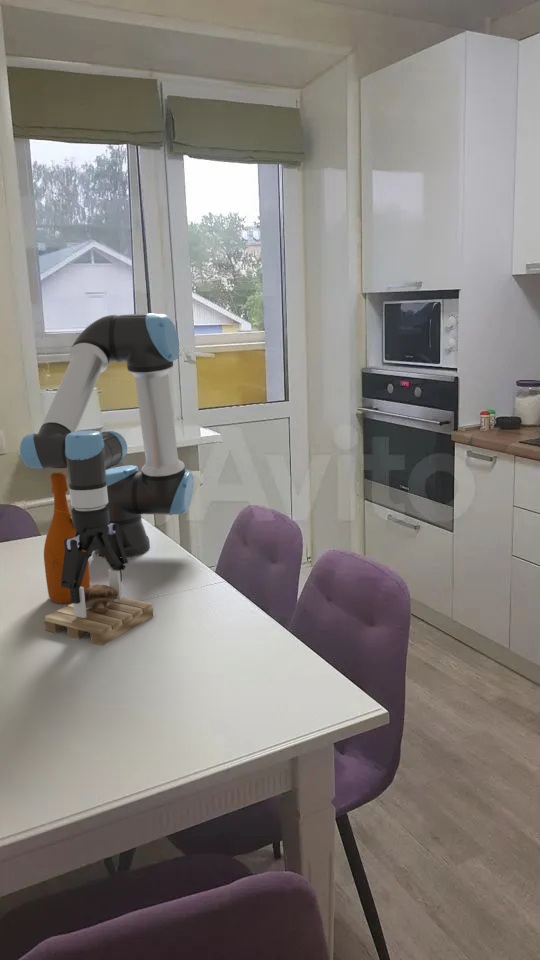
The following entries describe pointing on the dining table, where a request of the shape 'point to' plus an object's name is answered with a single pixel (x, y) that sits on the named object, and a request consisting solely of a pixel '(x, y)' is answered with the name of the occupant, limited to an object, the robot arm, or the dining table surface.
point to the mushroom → (99, 597)
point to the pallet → (100, 620)
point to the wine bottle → (59, 542)
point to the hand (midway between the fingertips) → (98, 607)
